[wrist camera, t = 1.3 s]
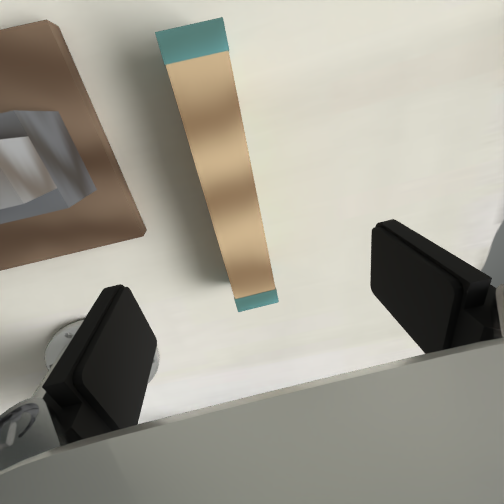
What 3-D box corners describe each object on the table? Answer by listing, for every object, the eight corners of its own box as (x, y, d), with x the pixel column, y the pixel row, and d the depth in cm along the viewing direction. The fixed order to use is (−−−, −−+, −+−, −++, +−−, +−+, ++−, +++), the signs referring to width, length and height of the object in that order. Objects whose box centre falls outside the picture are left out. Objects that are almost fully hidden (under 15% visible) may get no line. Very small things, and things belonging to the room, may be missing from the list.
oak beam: (269, 274, 31) (278, 302, 26) (234, 283, 30) (238, 312, 26) (220, 39, 20) (222, 17, 16) (167, 50, 20) (154, 32, 16)
